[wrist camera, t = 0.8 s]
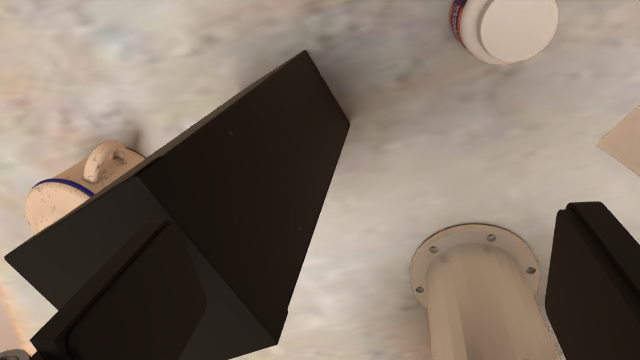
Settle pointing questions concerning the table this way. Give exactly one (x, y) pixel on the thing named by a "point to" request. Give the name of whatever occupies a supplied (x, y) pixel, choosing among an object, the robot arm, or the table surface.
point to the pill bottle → (503, 28)
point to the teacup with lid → (77, 184)
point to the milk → (625, 141)
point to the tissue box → (216, 209)
